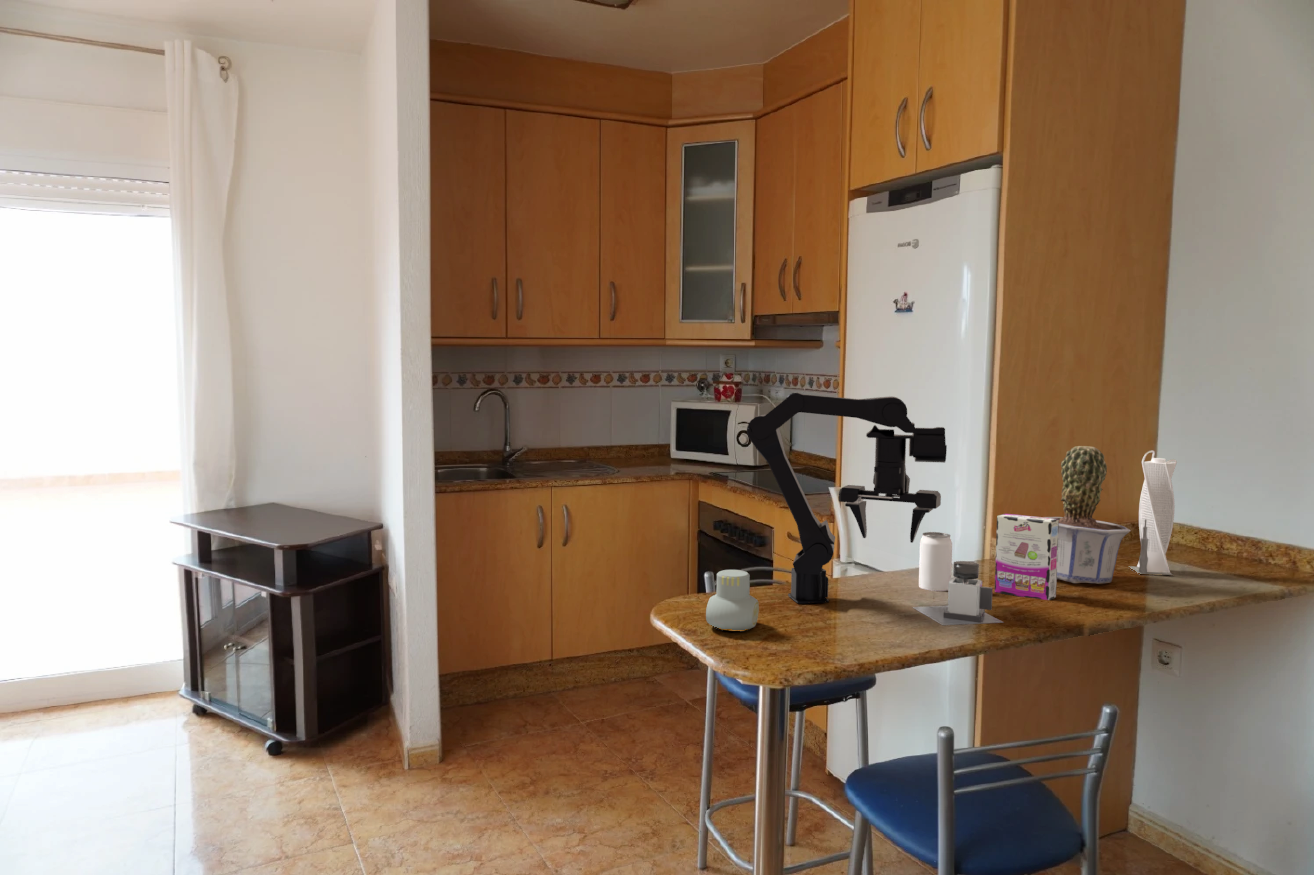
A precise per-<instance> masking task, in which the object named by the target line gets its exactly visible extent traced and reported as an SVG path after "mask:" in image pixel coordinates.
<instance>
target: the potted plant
mask: <svg viewBox="0 0 1314 875" xmlns="http://www.w3.org/2000/svg"><path fill="white" fill-rule="evenodd" d="M1065 454H1066V455H1065V457H1064V458H1063V459H1062V461H1061V462H1060V467H1061V471H1060V472H1061V477H1062V481H1063V482H1062V488H1061V499H1060V502H1062V504H1063V513H1064V516H1063V517H1062V516H1043V518H1051V519H1059V527H1058V554H1057V580H1060V581H1065V582H1069V583H1072V584H1080V583H1088V584H1098V585H1104V584H1108V583H1110V584H1111V583H1112V580H1113V576H1114V571H1115V567H1116V563H1117V557H1118V553H1119V549H1120V546H1121V542H1122V540H1123V538H1124V537H1125V536H1126V535H1127V534H1129V533H1130V532H1131V531H1132V530H1131V529H1130V528H1128V527H1126V526H1124V525H1121V524H1118V523H1113V522H1107V521H1104V520H1096V519H1095V518H1093V515H1094V514H1095V512H1096V509H1097V506H1098V505H1099V503H1100V502H1101V492H1102V491H1104V490H1103V488H1102V485H1103V483H1104V481H1105V479H1106V476H1107V469H1108V466H1107V463H1106V461H1105V454H1103V453H1102V452H1101V450H1100V449H1099V448H1096V447H1095V446H1089V445H1088V446H1087V445H1078V446H1074V447H1071V449H1070V450H1067V451H1066V453H1065Z"/></svg>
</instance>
